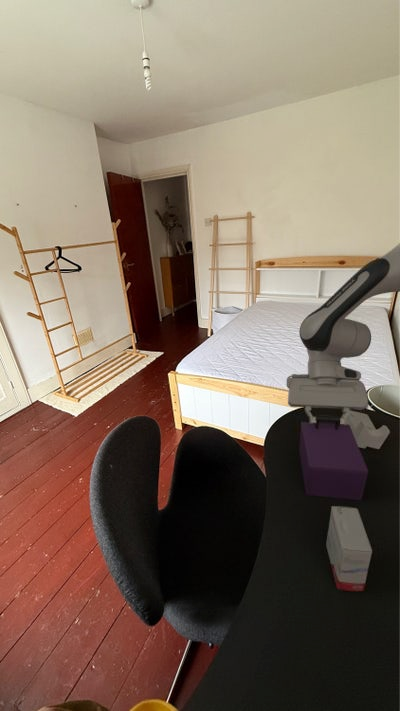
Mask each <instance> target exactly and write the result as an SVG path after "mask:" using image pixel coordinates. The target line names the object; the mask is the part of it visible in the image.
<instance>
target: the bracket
mask: <svg viewBox="0 0 400 711" xmlns="http://www.w3.org/2000/svg"><path fill="white" fill-rule="evenodd" d="M343 415H344V413H342V415H341V416H340V418H342V417H343ZM346 424H347V425H350V428H351V430H352V433H353V435H354V438H355V440H356V442H357V445H358V447H359V448H361V449H366V448H367V447H368V448H372V449H377V450H381V447H382V446H383V444H384V442H385V441H386V440H387V438H388V436H389V435H390V434H391V431H390V429H389V428H388V426H387V425H382V426H380V427H379V428H377V429H376V427H375V426H374V423H373V422H372V420H371V418H370V417H369V415H368V414H367V413H362V412H358V411H356V410H355V411H354V410H350V412H349V414H348V416H347V418H346Z"/></svg>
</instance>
